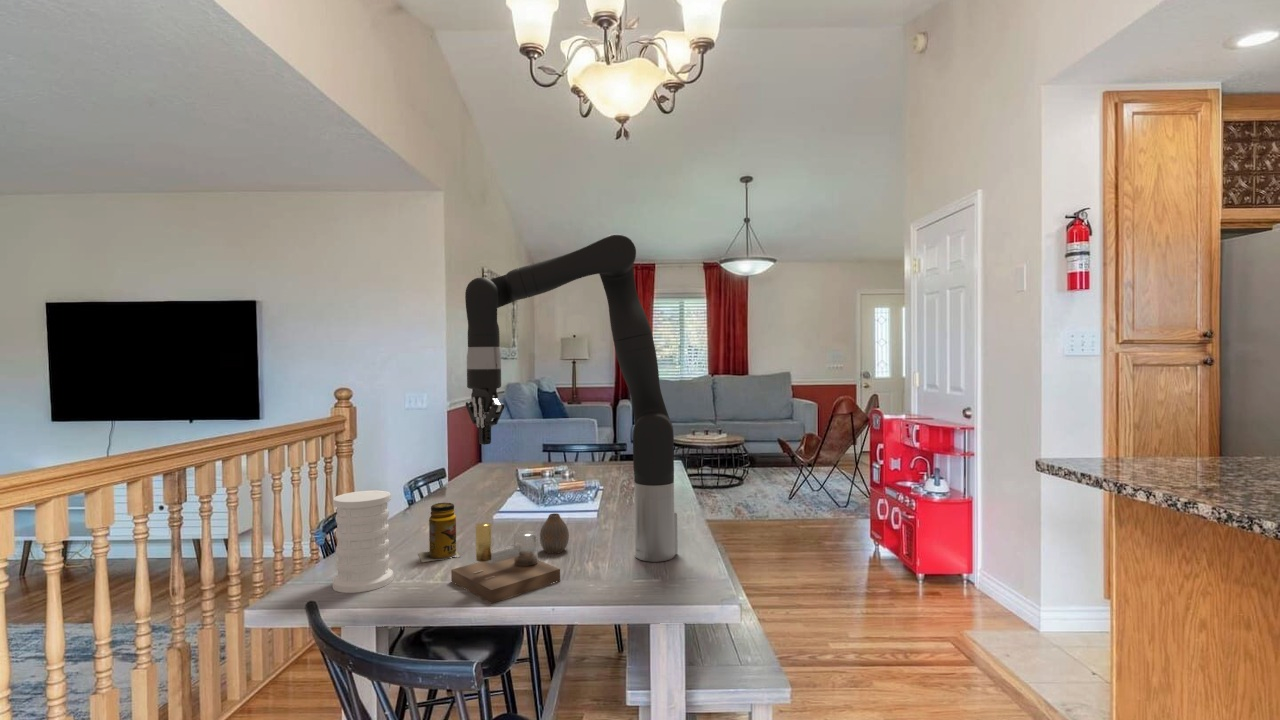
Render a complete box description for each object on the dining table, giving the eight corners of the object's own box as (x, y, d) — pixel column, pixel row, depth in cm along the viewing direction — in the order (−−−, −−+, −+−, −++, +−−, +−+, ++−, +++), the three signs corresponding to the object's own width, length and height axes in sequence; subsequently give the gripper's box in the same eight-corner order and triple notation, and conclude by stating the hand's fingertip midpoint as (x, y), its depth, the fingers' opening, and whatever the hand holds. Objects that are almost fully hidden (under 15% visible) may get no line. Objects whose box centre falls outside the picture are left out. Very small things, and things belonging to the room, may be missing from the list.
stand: (517, 562, 137) (517, 551, 137) (560, 580, 125) (560, 567, 125) (451, 581, 126) (451, 568, 126) (491, 603, 114) (491, 588, 114)
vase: (563, 556, 141) (563, 518, 141) (535, 554, 143) (535, 517, 143) (572, 547, 148) (572, 511, 148) (546, 546, 149) (545, 510, 149)
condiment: (460, 557, 141) (459, 506, 141) (421, 563, 138) (421, 510, 138) (455, 548, 148) (454, 499, 148) (418, 554, 144) (417, 503, 144)
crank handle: (529, 556, 133) (528, 510, 133) (542, 561, 129) (542, 514, 129) (471, 572, 123) (470, 523, 123) (483, 579, 119) (483, 528, 119)
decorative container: (359, 596, 118) (358, 504, 118) (319, 587, 123) (318, 499, 123) (405, 577, 129) (404, 492, 129) (366, 569, 134) (365, 488, 134)
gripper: (514, 367, 135) (515, 444, 135) (482, 367, 144) (483, 439, 144) (485, 367, 130) (486, 448, 130) (454, 367, 139) (454, 443, 139)
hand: (484, 443), depth 137 cm, fingers closed
